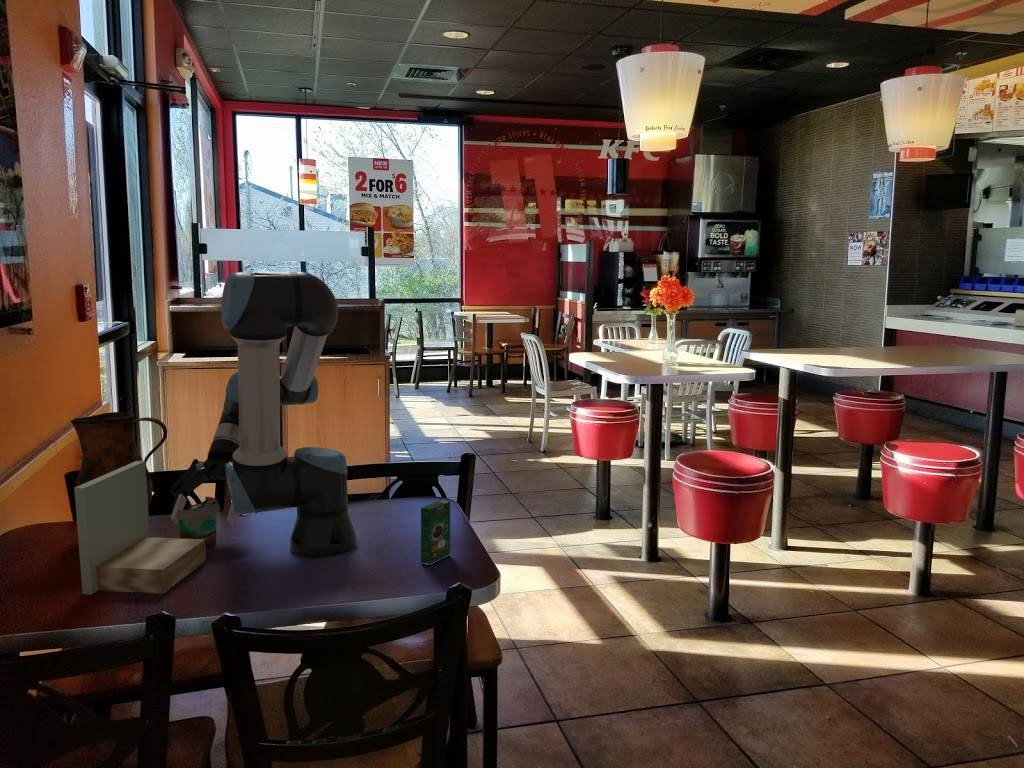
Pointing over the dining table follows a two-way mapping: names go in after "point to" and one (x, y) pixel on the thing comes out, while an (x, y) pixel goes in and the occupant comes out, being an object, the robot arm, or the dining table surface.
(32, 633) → the dining table surface
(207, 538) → the food container
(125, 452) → the pitcher
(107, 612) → the dining table surface
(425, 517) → the coffee box
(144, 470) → the wall board
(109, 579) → the block
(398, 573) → the dining table surface
